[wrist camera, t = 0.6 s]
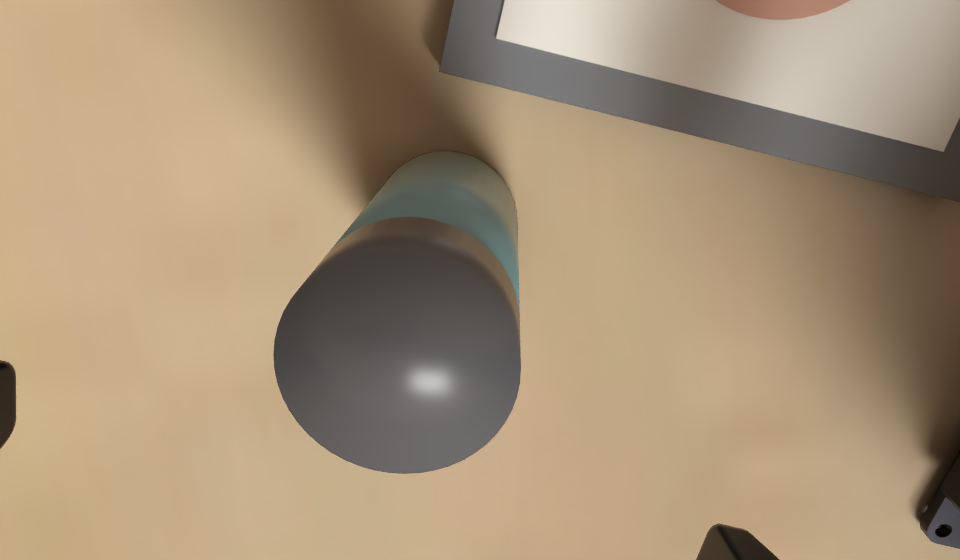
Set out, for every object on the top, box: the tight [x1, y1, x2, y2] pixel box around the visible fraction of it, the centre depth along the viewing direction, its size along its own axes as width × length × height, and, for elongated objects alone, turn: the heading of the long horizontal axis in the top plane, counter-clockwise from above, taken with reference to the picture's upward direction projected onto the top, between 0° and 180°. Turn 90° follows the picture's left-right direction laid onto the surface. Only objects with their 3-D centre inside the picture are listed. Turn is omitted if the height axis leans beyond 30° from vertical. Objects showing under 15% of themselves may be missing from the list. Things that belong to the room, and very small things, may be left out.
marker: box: [274, 151, 521, 474], centre depth 15 cm, size 4×4×9 cm
